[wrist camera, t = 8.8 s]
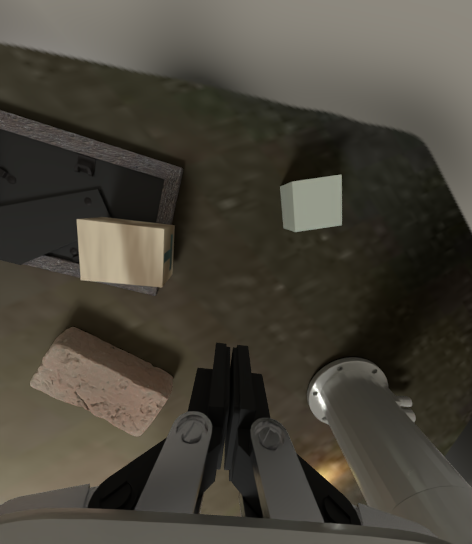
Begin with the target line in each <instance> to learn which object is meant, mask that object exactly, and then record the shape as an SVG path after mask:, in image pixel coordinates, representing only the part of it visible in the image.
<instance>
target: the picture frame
mask: <svg viewBox="0 0 472 544" xmlns="http://www.w3.org/2000/svg"><path fill="white" fill-rule="evenodd" d="M182 174H183V168H181V167H178V166H175V165H171V164H168V163H165V162H162V161H159V160H156V159H153V158H149V157H146V156H143V155H140V154H137V153H134V152H131V151H127V150H124V149H121V148H118V147H115V146H112V145H109V144H105V143H102V142H99V141H96V140H93V139H90V138H87V137H83V136H80V135H77V134H74V133H71V132H68V131H65V130H61V129H58V128H55V127H52V126H49V125H46V124H43V123H39V122H36V121H33V120H30V119H27V118H24V117H21V116H17V115H14V114H11V113H8V112H5V111H2V110H0V260H3V261H7V262H11V263H15V264H19V265H22V264H26V265H30V266H34V267H38V268H42V269H46V270H50V271H54V272H58V273H63V274H67V275H71V276H75V277H79V278H81V276H80V262H79V247H78V233H77V219H84V218H99V217H107V218H116V219H124V220H133V221H142V222H150V223H159V224H167V225H172V221H173V216H174V211H175V207H176V202H177V197H178V192H179V188H180V183H181V178H182ZM96 282H97V281H96ZM100 283H104V284H108V285H112V286H116V287H120V288H124V289H128V290H133V291H137V292H141V293H145V294H149V295H153V296H156V294H157V291H158V287H152V286H141V285H130V284H119V283H108V282H100Z"/></svg>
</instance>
